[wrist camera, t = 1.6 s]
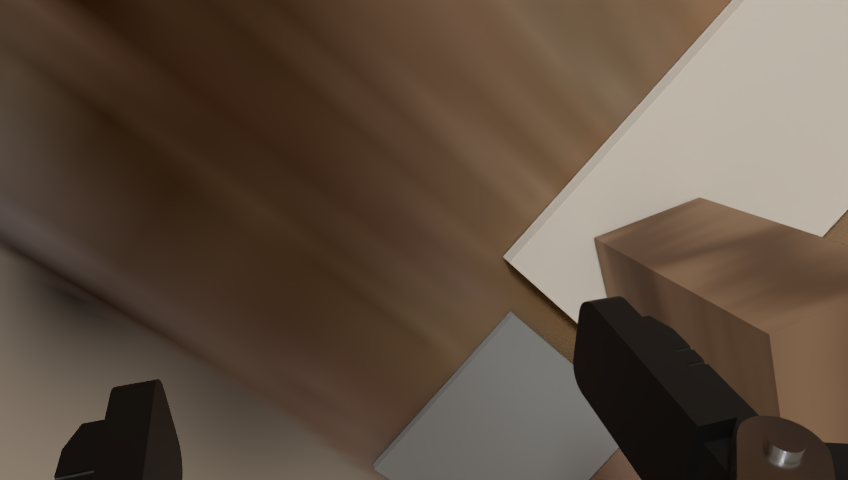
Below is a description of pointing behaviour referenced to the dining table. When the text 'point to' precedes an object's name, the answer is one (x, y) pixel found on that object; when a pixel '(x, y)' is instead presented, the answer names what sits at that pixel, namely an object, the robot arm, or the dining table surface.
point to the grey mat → (503, 419)
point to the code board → (713, 142)
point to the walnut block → (744, 304)
